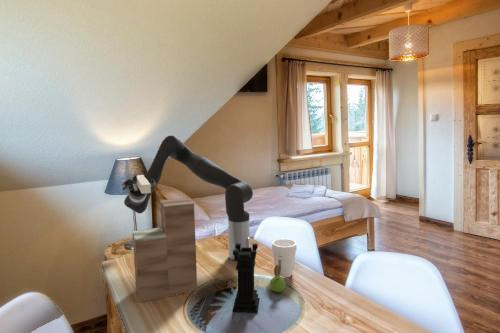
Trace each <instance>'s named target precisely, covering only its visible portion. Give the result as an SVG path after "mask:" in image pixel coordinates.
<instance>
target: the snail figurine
mask: <svg viewBox="0 0 500 333" xmlns="http://www.w3.org/2000/svg"><path fill="white" fill-rule="evenodd" d="M279 257H282V256H280V255H279ZM281 261H282V260H281V259H278V263H277V264H276V265H275V264H274V268H273V271H274V272H273V273H274V274H273V275H274V276H273V277H272V278H271V280H270V282H269V286H270V289H271V290H272V292H275V293H281V292H283V291H284V290H285V289H286V281H285V278H282V277H280V274H281Z"/></svg>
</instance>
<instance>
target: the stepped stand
mask: <svg viewBox="0 0 500 333" xmlns="http://www.w3.org/2000/svg"><path fill="white" fill-rule="evenodd" d="M159 206H160V207H159V208H160V209H159V210H160V212H159V213H160V227H154V228H146V229H145V228H144V229H139V230H133V231H132V245H133V261H134V275H135V277H134V279H135V289H136V290H135V291H136V296H137V299H138V303H139V304H140V302H141V303H145V301H146V302H150V301H149V300H151V301H154V299H155V300H159V298H160V299H164V298H163V297H165V298H168V297H167V296H169V297H172V296H171V295H174V296H177V295H176V294H179V295H181V294H180V293H184V294H186V293H185V292H188V293H190V292H189V291H193V292H195V291H194V290H197V291H198V278H197V277H198V273H197V250H196V249H197V247H196V246H197V245H196V223H195V218H196V216H195V203H194V202H193V201H192V200H191V199H190V198H188V197H181V198H179V197H178V198H171V199H161V200H160V199H159Z"/></svg>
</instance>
